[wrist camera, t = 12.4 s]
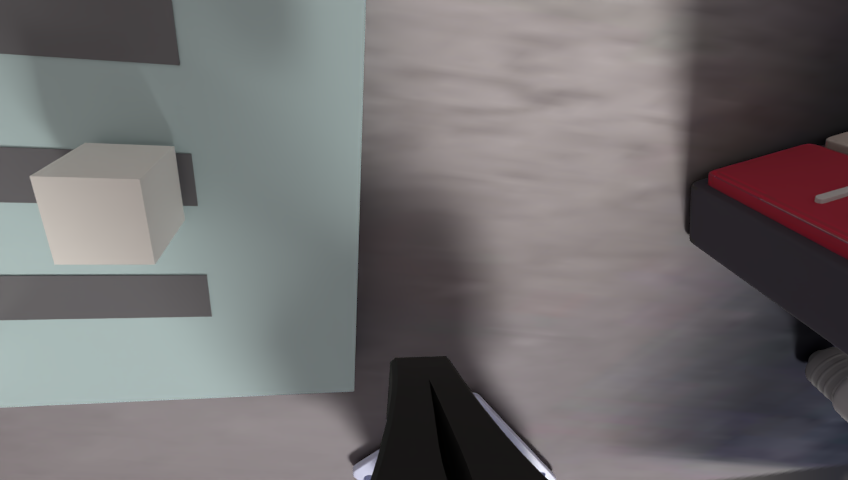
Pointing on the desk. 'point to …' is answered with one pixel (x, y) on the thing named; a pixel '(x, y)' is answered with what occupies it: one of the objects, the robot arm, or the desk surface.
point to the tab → (110, 204)
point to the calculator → (783, 230)
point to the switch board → (187, 198)
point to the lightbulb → (830, 376)
